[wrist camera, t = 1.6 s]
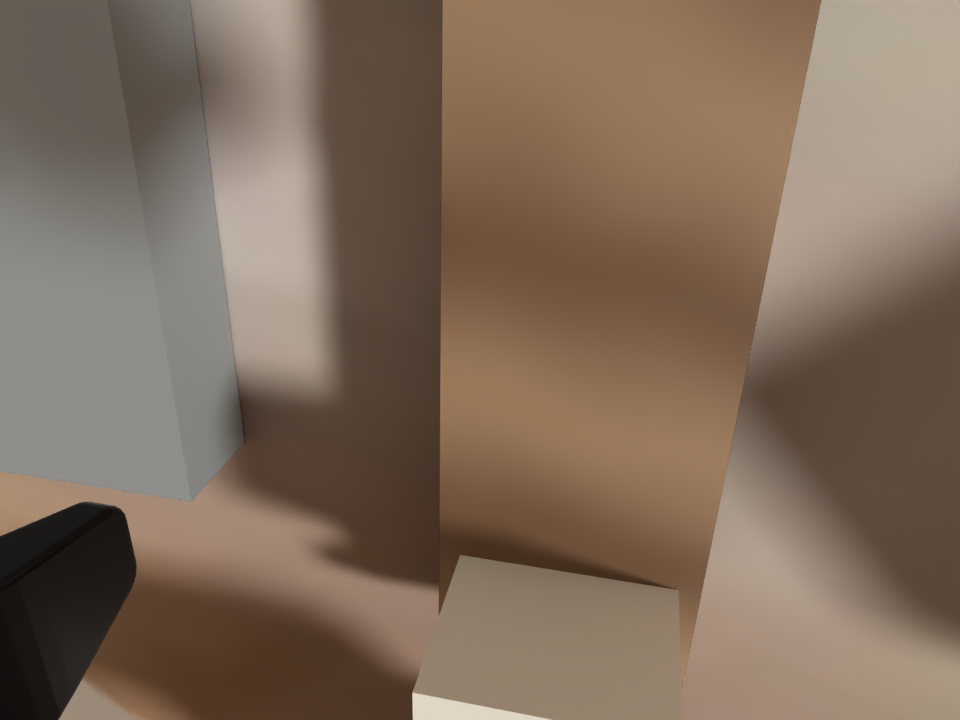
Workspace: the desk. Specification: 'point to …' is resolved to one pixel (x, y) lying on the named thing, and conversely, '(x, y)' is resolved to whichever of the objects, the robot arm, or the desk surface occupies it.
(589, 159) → the pallet
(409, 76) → the desk surface
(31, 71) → the dock
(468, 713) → the block
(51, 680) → the robot arm
